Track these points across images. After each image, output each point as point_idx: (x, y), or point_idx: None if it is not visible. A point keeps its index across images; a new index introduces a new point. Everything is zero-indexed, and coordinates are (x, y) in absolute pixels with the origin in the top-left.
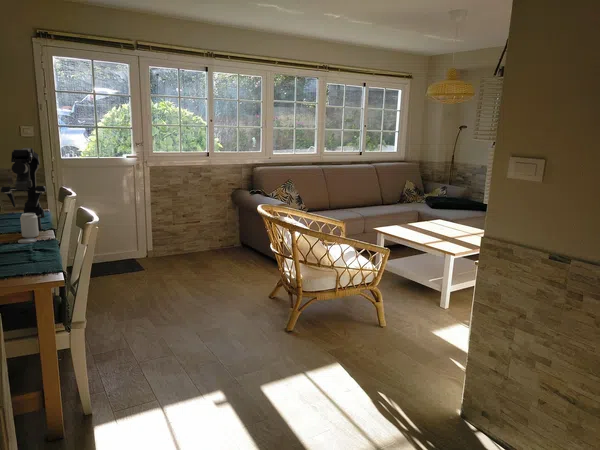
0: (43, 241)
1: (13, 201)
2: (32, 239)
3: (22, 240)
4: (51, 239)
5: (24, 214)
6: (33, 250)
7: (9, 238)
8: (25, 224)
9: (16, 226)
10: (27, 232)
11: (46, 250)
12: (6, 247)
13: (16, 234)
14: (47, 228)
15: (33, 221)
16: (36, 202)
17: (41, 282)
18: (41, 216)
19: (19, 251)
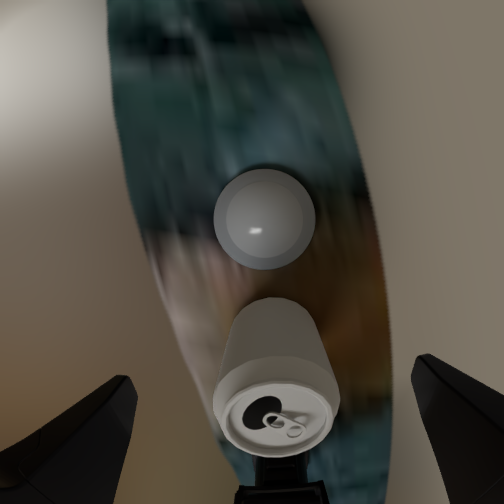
0: (177, 208)
1: (473, 402)
2: (238, 231)
3: (291, 216)
4: (147, 248)
5: (312, 434)
6: (193, 38)
7: (371, 307)
8: (292, 332)
9: (355, 478)
10: (280, 307)
11: (139, 40)
12: (342, 109)
13: (349, 381)
14: (231, 455)
15: (233, 353)
16: (81, 409)
17: None
18: (242, 491)
19: (254, 29)
